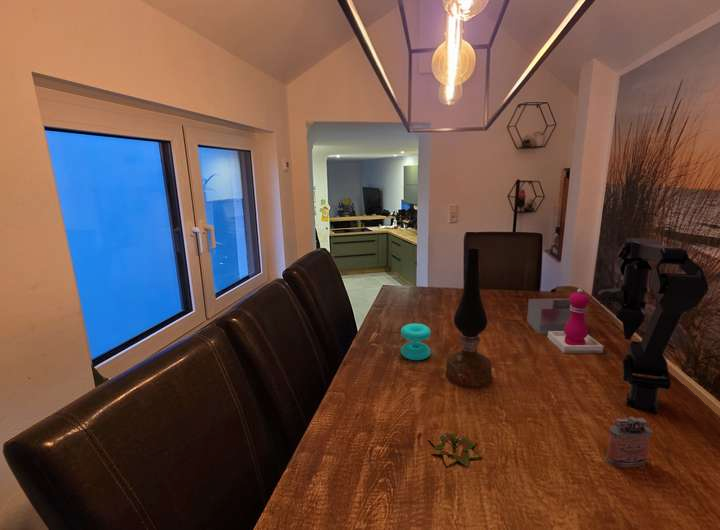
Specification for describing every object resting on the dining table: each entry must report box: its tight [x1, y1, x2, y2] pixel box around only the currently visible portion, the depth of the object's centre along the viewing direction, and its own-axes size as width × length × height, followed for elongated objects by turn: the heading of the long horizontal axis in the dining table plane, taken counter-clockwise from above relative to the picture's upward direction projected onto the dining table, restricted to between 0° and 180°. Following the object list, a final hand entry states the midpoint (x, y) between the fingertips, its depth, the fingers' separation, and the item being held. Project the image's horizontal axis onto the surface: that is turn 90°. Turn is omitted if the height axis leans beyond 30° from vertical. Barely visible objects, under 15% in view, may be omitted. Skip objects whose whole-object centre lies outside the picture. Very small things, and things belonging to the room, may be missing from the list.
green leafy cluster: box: [433, 428, 484, 467], centre depth 82 cm, size 12×12×5 cm
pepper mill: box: [564, 288, 590, 345], centre depth 127 cm, size 7×7×20 cm
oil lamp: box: [444, 248, 493, 389], centre depth 112 cm, size 14×15×40 cm
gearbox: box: [526, 297, 586, 335], centre depth 144 cm, size 12×16×13 cm
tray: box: [547, 331, 604, 354], centre depth 130 cm, size 13×13×2 cm
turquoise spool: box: [400, 323, 432, 361], centre depth 126 cm, size 10×10×10 cm
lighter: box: [605, 415, 653, 468], centre depth 76 cm, size 8×3×10 cm, turn 92°
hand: (628, 333), depth 108 cm, fingers open, 9 cm apart
